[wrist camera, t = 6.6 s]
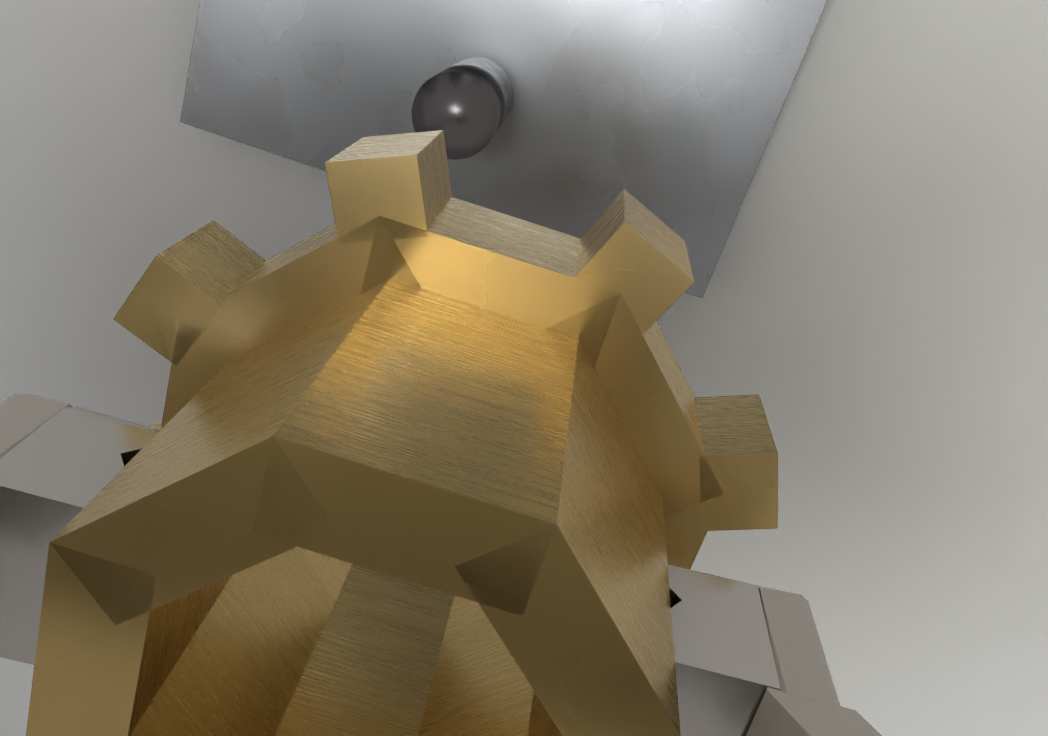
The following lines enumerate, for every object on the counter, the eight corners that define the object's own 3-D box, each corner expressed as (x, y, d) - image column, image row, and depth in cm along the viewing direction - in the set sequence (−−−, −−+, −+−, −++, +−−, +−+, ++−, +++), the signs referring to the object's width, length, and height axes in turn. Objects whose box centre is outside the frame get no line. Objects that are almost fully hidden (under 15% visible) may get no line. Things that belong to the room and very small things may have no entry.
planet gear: (629, 742, 14) (633, 1140, 9) (123, 587, 13) (-138, 914, 9) (850, 263, 11) (1026, 487, 6) (209, 53, 10) (-113, 123, 6)
